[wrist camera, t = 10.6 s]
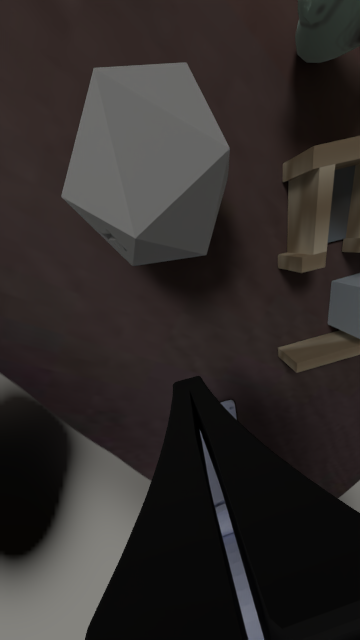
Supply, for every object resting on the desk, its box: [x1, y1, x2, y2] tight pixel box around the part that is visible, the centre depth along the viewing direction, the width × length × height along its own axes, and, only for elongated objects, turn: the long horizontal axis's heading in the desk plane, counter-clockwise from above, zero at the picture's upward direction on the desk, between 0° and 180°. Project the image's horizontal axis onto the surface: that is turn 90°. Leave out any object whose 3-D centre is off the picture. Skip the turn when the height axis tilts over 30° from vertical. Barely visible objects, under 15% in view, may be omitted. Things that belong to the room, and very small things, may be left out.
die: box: [61, 63, 230, 266], centre depth 11 cm, size 8×9×10 cm
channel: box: [278, 136, 360, 373], centre depth 17 cm, size 18×8×3 cm, turn 13°
